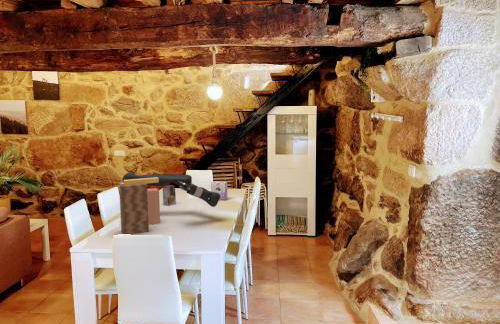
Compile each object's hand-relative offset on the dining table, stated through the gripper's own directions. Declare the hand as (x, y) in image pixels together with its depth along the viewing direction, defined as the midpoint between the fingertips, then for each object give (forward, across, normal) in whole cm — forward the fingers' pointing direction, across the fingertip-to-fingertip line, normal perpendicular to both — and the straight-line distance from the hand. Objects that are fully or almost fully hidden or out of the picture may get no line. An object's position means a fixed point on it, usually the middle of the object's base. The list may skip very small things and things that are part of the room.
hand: (174, 181), depth 263 cm
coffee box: (-26, -64, +22) cm, 72 cm away
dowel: (+20, 0, +10) cm, 22 cm away
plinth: (+9, 0, +41) cm, 42 cm away
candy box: (-65, -62, 0) cm, 90 cm away
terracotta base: (-4, -16, +34) cm, 38 cm away
